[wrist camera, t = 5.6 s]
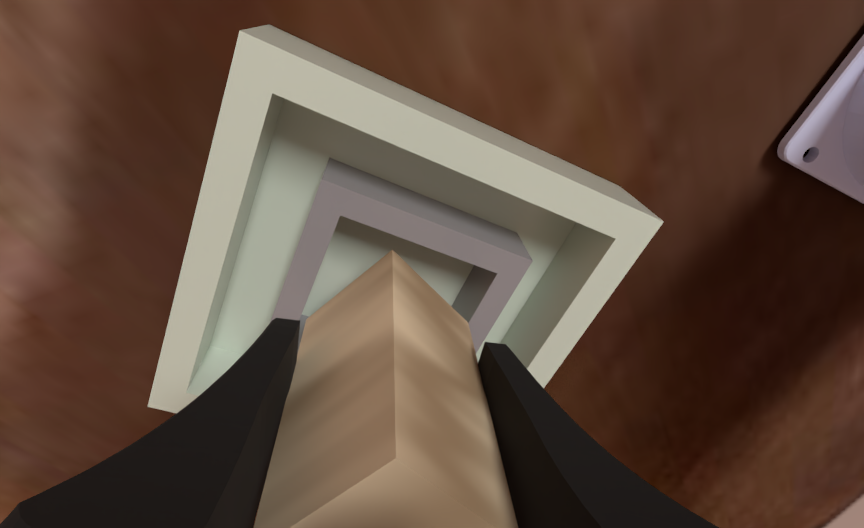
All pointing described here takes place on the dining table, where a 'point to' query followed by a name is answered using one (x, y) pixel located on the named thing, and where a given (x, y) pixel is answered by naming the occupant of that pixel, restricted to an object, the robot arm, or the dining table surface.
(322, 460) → the tan wooden block
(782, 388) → the dining table surface
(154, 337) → the dining table surface
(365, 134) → the square tray
